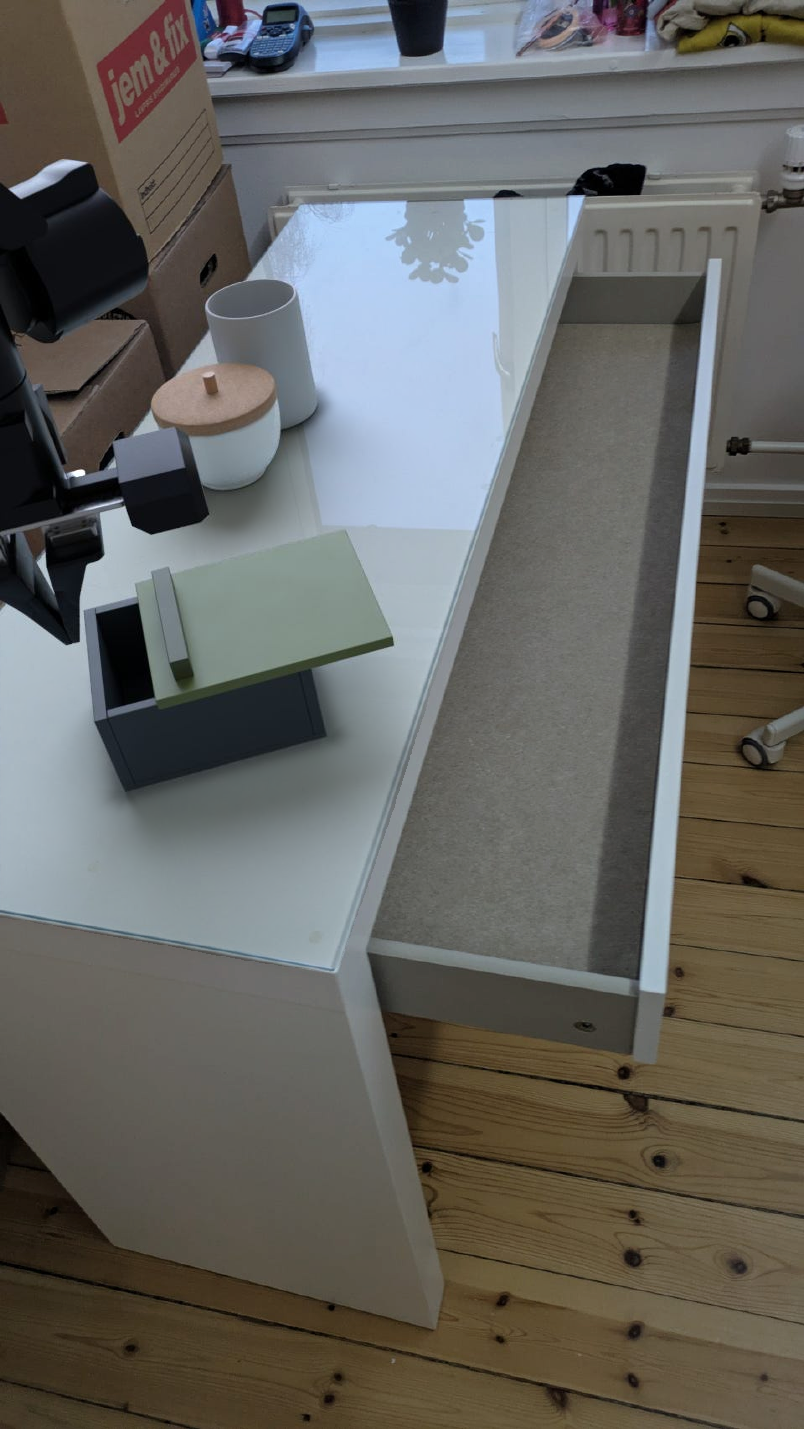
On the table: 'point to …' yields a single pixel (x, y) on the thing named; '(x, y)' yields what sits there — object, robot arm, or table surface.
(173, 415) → the trinket box
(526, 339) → the table surface
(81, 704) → the table surface
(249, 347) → the mug
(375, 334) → the table surface
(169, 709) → the bin
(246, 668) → the bin lid
